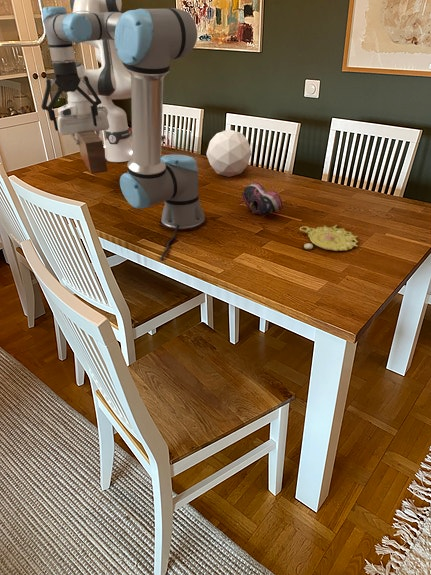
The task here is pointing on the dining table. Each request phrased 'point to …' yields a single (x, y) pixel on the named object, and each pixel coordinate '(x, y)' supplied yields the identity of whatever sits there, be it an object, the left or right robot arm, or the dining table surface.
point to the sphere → (229, 153)
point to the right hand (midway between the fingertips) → (76, 127)
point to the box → (92, 151)
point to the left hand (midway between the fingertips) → (87, 143)
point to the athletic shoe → (261, 200)
